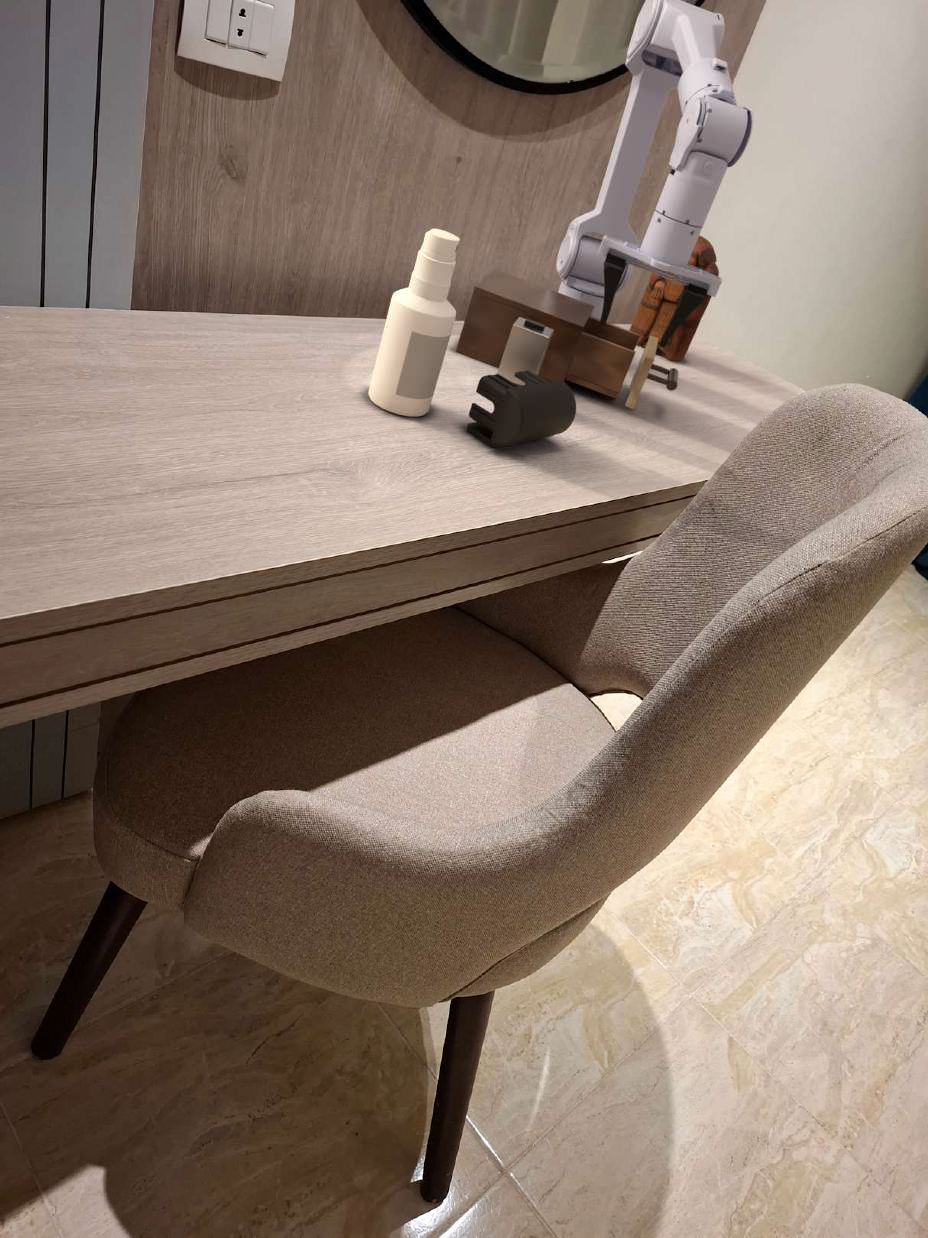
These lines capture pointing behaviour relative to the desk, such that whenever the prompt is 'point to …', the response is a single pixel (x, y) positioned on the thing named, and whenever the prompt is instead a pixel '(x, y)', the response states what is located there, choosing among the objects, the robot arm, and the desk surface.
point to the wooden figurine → (672, 306)
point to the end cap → (521, 409)
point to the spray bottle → (417, 331)
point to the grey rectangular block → (525, 349)
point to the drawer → (614, 361)
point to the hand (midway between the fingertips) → (632, 333)
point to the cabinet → (513, 298)
